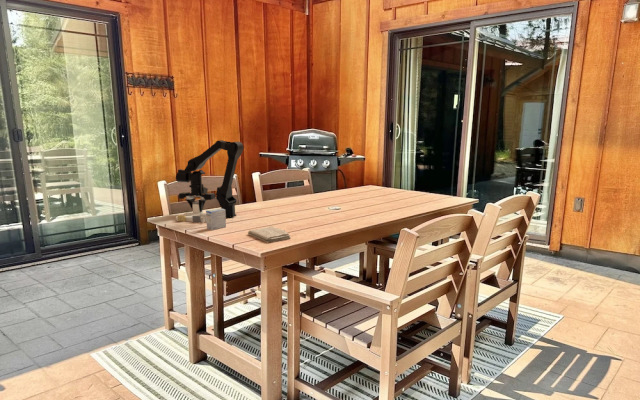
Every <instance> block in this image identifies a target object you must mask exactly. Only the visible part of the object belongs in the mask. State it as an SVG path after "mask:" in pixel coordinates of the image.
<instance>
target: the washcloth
mask: <svg viewBox="0 0 640 400" xmlns="http://www.w3.org/2000/svg"><path fill="white" fill-rule="evenodd" d="M247 235H249V236H251V237H253V238H255V239H258V240H260V241H262V242H265V243H268V244H269V243H275V242H281V241H287V240H290V239H291V235H290V233H289V232H286V230H285V229H281V228H278V227H275V226H267V227H262V228H256V229H250V230H249V231H248V232H247Z"/></svg>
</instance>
